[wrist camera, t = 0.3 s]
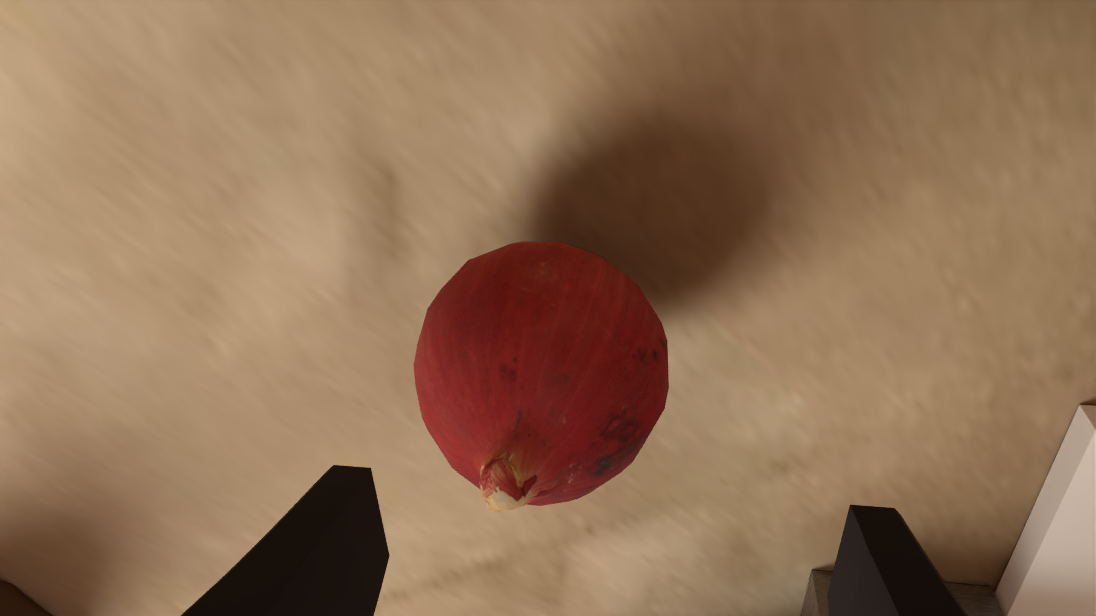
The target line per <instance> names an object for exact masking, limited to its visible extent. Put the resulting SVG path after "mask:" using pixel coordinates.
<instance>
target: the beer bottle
mask: <svg viewBox="0 0 1096 616" xmlns="http://www.w3.org/2000/svg"><path fill="white" fill-rule="evenodd" d="M0 616H50V615H49V614H48V613H47V612H46V611H44V610H43V609H42V608H41V607H39V606H38V605H37V604H36V603H34V602H33V601H32V600H31V599H29V598H28V597H27V596H26V595H24V594H23V593H22V592H21V591H19V590H18V589H17V588H16V587H14V586H13V585H12V584H10V583H6V582H3V581H0Z"/></svg>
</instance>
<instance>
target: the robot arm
mask: <svg viewBox="0 0 1096 616" xmlns="http://www.w3.org/2000/svg"><path fill="white" fill-rule="evenodd" d="M388 559H389V551H388V547H387V542H386V537H385V533H384V528H383V523H382V518H381V514H380V509H379V504H378V499H377V495H376V490H375V485H374V481H373V476H372V471H371V468H365V467H352V466H339V465H333V466H332V467H331V468H330V469H329V470H328V471H327V472H326V473H325V474H324V475H323V476H322V477H321V478H320V479H319V480H318V481H317V482H316V483H315V484H314V485H313V486H312V487H311V488H310V489H309V490H308V491H307V493H306V494H305V495H304V496H303V497H302V498H301V499H300V500H299V501H298V502H297V503H296V504H295V505H294V506H293V507H292V508H291V509H290V510H289V511H288V512H287V513H286V515H285V516H284V517H283V518H282V519H281V520H280V521H279V522H278V523H277V524H276V525H275V526H274V527H273V528H272V529H271V530H270V531H269V532H268V533H267V534H266V535H265V536H264V537H263V538H262V539H261V540H260V541H259V542H258V543H257V544H256V545H255V546H254V547H253V548H252V549H251V550H250V551H249V552H248V553H247V554H246V555H245V556H244V557H243V558H242V559H241V560H240V561H239V562H238V563H237V564H236V565H235V566H234V567H233V568H232V569H231V570H230V571H229V572H228V573H227V574H226V575H225V576H223V577H222V578H221V579H220V580H219V581H218V582H217V583H216V584H215V585H214V586H213V587H212V588H210V589H209V590H208V591H207V592H206V593H205V594H204V595H203V596H202V597H201V598H199V599H198V600H197V601H196V602H195V603H194V604H193V605H192V606H191V607H190V608H189V609H187V610H186V611H185V612H184V613H183V614H182V615H181V616H373V615H374V612H375V608H376V605H377V601H378V598H379V594H380V590H381V587H382V583H383V579H384V575H385V571H386V567H387V563H388ZM827 599H828V609H829V616H968V615H967V613H966V612H965V610H964V609H963V608H962V606H961V605H960V603H959V602H958V601H957V599H956V598H955V596H954V595H953V593H952V592H951V590H950V589H949V588H948V586H947V585H946V583H945V582H944V580H943V579H942V577H941V576H940V574H939V573H938V571H937V570H936V569H935V567H934V566H933V564H932V563H931V561H930V559H929V558H928V556H927V555H926V553H925V552H924V550H923V549H922V547H921V546H920V544H919V543H918V541H917V540H916V538H915V537H914V535H913V533H912V532H911V530H910V529H909V527H908V526H907V524H906V522H905V521H904V519H903V518H902V516H901V515H900V514H899V512H898V511H897V510H896V509H895V508H886V507H873V506H860V505H850V507H849V511H848V515H847V519H846V523H845V527H844V531H843V535H842V539H841V543H840V547H839V551H838V555H837V559H836V563H835V567H834V571H833V574H832V578H831V582H830V586H829V590H828V594H827Z"/></svg>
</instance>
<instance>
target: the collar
mask: <svg viewBox="0 0 1096 616" xmlns="http://www.w3.org/2000/svg"><path fill="white" fill-rule="evenodd" d="M832 574H833V572H826V571H815V570H812V571H811V575H810V579H809V583H808V588H807V592H806V596H805V600H804V604H803V608H802V612H801V616H829V609H828V599H827V594H828V590H829V586H830V582H831V578H832ZM946 585H947V586H948V588H949V589H950V590H951V592H952V593H953V595H954V596H955V598H956V599H957V601H958V602H959V603H960V605H961V606H962V608H963V609H964V610H965V612H966V613H967V615H968V616H1002V615H1001V612H1000V610H999V607H998V604H997V602H996V599H995V597H994V594H993V591H992V589H991V587H989V586H978V585H967V584H956V583H946Z"/></svg>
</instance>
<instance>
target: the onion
mask: <svg viewBox="0 0 1096 616" xmlns="http://www.w3.org/2000/svg"><path fill="white" fill-rule="evenodd" d="M414 373H415V384H416V390H417V395H418V400H419V405H420V410H421V414H422V418H423V420H424V423H425V425H426V427H427V429H428V431H429V433H430V434H431V436H432V438H433V439H434V441H435V442H436V444H437V445H438V447H439V448H440V450H441V451H442V453H443V454H444V456H445V457H446V459H447V461H448V462H449V464H450V465H451V467H452V468H453V469H454V470H455V471H457V472H458V473H459V474H460V475H462V476H463V477H464V478H466V479H467V480H468V481H470V482H471V483H473V484H474V485H475V486H477V487H478V488H479V489H481V493H482V498H483V499H484V500H485V501H486V502H487V504H488V509H489V510H491V511H496V512H501V511H506V510H511V509H515V508H518V507H521V506H523V505H526V504H528V505H537V506H542V505H548V504H555V503H561V502H568V501H571V500H575V499H578V498H580V497H582V496H584V495H587V494H589V493H590V492H592V491H593V490H595V489H596V488H598V487H599V486H601V485H602V484H604V483H605V482H607V481H608V480H610V479H612V478H613V477H615V476H616V475H618V474H619V473H621V472H622V471H623V470H624V469H625V468H626V467H627V466H629V465H630V464H631V463H632V462H633V460H634V459H635V457H636V456H637V454H638V453H639V451H640V449H641V448H642V446H643V445H644V443H645V441H646V439H647V438H648V436H649V434H650V433H651V431H652V429H653V427H654V426H655V424H656V422H657V421H658V419H659V417H660V415H661V414H662V412H663V410H664V409H665V403H666V398H667V393H668V388H669V383H668V349H667V339H666V335H665V332H664V329H663V326H662V323H661V321H660V319H659V318H658V316H657V315H656V313H655V311H654V310H653V308H652V307H651V305H650V303H649V302H648V300H647V299H646V297H645V296H644V294H643V292H642V291H641V289H640V288H639V286H638V285H637V284H636V283H635V282H634V281H632V280H631V279H630V278H628V277H627V276H626V275H625V274H623V273H622V272H621V271H620V270H618V269H617V268H616V267H614V266H613V265H612V264H611V263H609V262H608V261H607V260H606V259H604V258H603V257H601V256H598V255H596V254H593V253H590V252H587V251H585V250H582V249H579V248H576V247H574V246H571V245H568V244H565V243H562V242H518V243H513V244H509V245H506V246H504V247H501V248H499V249H496V250H494V251H491V252H488V253H486V254H483V255H481V256H478V257H476V258H473V259H470V260H468V261H467V262H466V263H465V264H464V265H463V266H462V268H461V269H460V270H459V271H458V272H457V273H456V274H455V275H454V276H453V277H452V278H451V279H450V280H449V281H448V282H447V283H446V285H445V286H444V287H443V288H442V289H441V290H440V292H439V293H438V294H437V296H436V297H435V299H434V300H433V302H432V303H431V305H430V306H429V308H428V310H427V313H426V316H425V320H424V323H423V327H422V330H421V334H420V337H419V341H418V344H417V350H416V356H415V362H414Z"/></svg>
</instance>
